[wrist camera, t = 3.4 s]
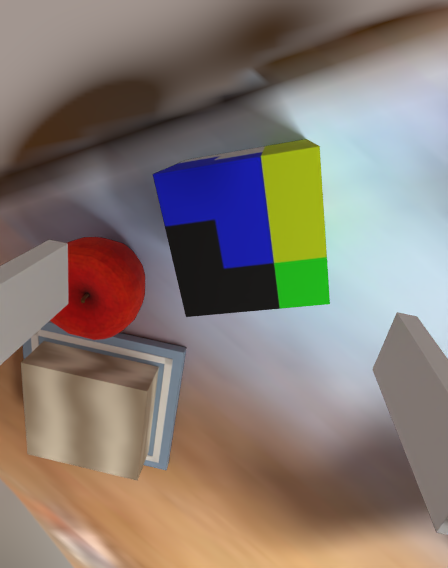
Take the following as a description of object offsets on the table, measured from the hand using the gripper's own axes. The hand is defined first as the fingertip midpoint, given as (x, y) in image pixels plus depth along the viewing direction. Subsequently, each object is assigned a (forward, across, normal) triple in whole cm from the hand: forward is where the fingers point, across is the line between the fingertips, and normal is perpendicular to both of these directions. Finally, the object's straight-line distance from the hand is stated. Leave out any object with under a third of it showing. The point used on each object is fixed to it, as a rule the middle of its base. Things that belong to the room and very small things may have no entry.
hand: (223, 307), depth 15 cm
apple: (+20, +12, +9) cm, 25 cm away
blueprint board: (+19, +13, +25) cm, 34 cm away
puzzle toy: (+20, 0, 0) cm, 20 cm away
